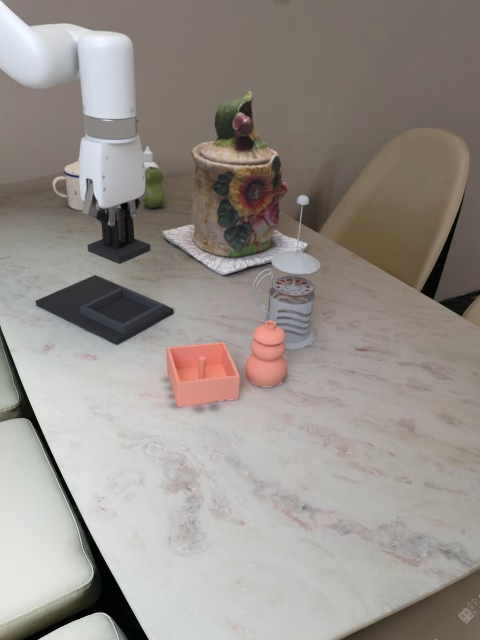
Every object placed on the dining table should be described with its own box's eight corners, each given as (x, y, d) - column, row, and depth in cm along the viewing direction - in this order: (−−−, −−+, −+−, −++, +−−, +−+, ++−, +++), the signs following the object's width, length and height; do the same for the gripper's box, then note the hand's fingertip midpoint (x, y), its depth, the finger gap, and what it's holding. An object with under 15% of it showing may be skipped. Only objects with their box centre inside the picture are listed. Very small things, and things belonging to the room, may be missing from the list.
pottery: (177, 407, 86) (177, 350, 80) (167, 369, 93) (166, 315, 88) (294, 392, 91) (302, 338, 86) (276, 358, 98) (281, 306, 93)
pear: (156, 202, 154) (155, 162, 148) (168, 208, 151) (168, 168, 145) (138, 205, 150) (136, 166, 145) (149, 212, 147) (148, 172, 142)
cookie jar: (157, 237, 135) (154, 84, 117) (241, 217, 149) (249, 79, 131) (224, 280, 120) (232, 112, 102) (310, 253, 135) (330, 102, 117)
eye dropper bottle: (153, 188, 162) (152, 143, 155) (160, 195, 158) (159, 149, 151) (138, 190, 160) (136, 144, 153) (144, 197, 156) (142, 150, 149)
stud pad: (87, 251, 98) (83, 210, 94) (119, 239, 103) (117, 199, 99) (119, 264, 95) (116, 222, 91) (150, 250, 100) (149, 210, 96)
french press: (321, 349, 102) (342, 207, 88) (254, 350, 100) (265, 206, 86) (308, 319, 110) (326, 185, 96) (246, 320, 108) (255, 183, 94)
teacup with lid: (102, 198, 153) (98, 151, 146) (108, 210, 146) (105, 162, 140) (53, 200, 149) (47, 153, 142) (57, 213, 142) (51, 164, 135)
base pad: (35, 305, 106) (33, 293, 105) (95, 279, 116) (94, 267, 115) (117, 345, 98) (116, 332, 96) (173, 313, 108) (173, 301, 106)
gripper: (131, 114, 95) (136, 224, 106) (49, 130, 84) (64, 251, 94) (167, 123, 92) (169, 235, 103) (86, 141, 81) (98, 265, 91)
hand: (118, 242), depth 98 cm, fingers closed on stud pad, 2 cm apart
